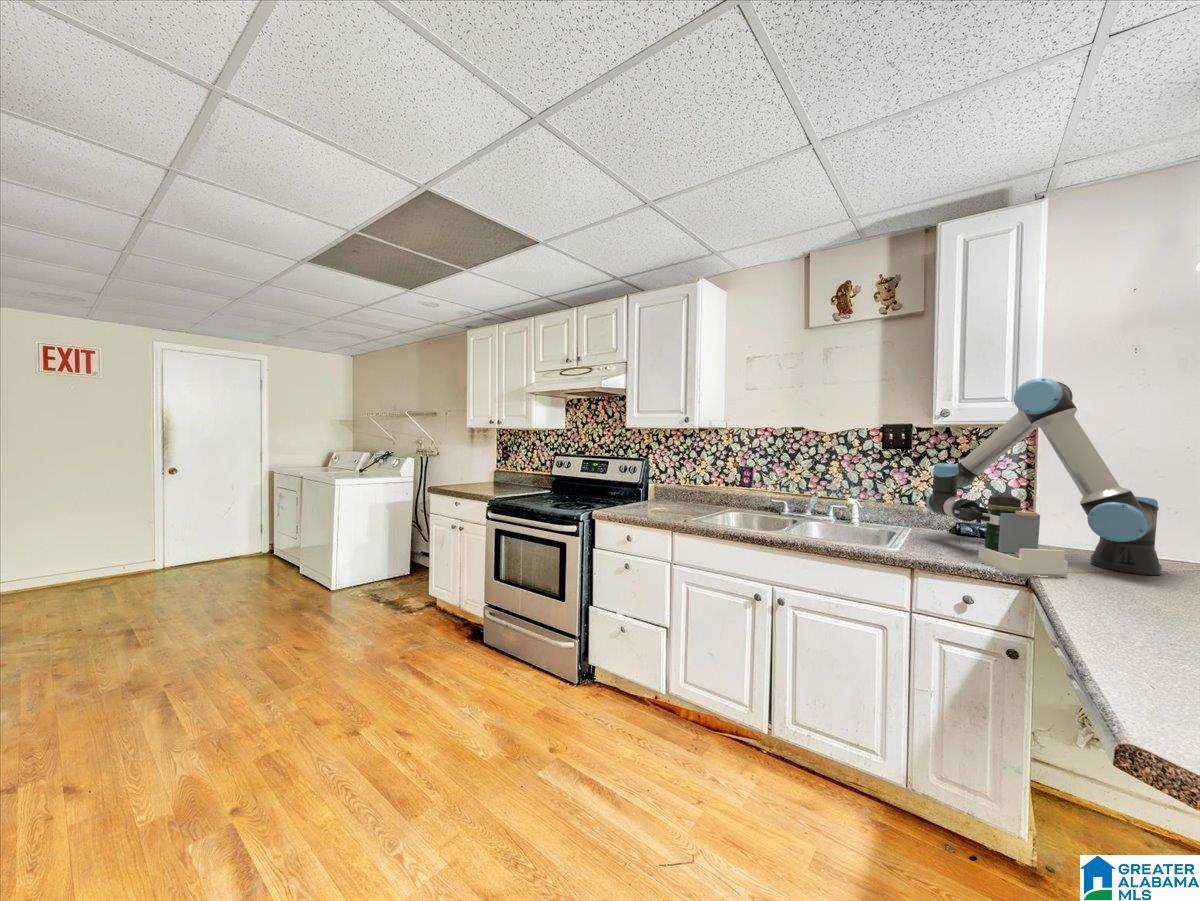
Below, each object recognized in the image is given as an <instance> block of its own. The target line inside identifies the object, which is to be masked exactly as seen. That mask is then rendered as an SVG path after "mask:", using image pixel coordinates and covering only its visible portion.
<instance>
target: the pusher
mask: <svg viewBox="0 0 1200 901" xmlns="http://www.w3.org/2000/svg"><path fill="white" fill-rule="evenodd" d="M1040 520H1041V514H1039V513H1038V512H1035V511H1028V510H1020V511H1015V514H1014V513H1001V515H1000V530H999V545H998V552H1008V553H1007V554H1009V553H1015V554H1019V551H1020V549H1039V538H1040V537H1039V536H1040V523H1041V521H1040Z"/></svg>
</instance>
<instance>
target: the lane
mask: <svg viewBox="0 0 1200 901" xmlns="http://www.w3.org/2000/svg"><path fill="white" fill-rule="evenodd" d="M1065 557H1066V550H1063V549H1044V548H1038V549H1020V551H1019V553H1018V555H1014V554H1007V553H1006V554H1003V553H1000V552H997V551H994V550H991V549H988V548H985V546H984V547H983V546H978V556H977V562H978V563H980V562H981V563H980V564H982V563H984V564H983V565H985V564H987V565H986V566H988V565H990V566H992V567H991V568H993V567H995V568H994V569H996V568H997V569H996V570H999V571H1001V572H1004V573H1007V574H1010V575H1012V576H1015V577H1020V578H1021V577H1022V578H1023V577H1024V578H1025V577H1028V578H1033V577H1032V576H1033V575H1040V576H1048V577H1065V578H1064V579H1067V578H1068V569H1069V568H1068V565H1069V561H1068V560H1066V558H1065ZM990 566H989V567H990ZM1048 577H1047V578H1048Z"/></svg>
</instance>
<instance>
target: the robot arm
mask: <svg viewBox="0 0 1200 901" xmlns="http://www.w3.org/2000/svg"><path fill="white" fill-rule="evenodd" d="M1073 397H1074V396H1073V392H1072V390H1071V388H1070V387H1069V386H1068V385H1066V384H1065V383H1063V382H1062V381H1061V382H1060V381H1056V380H1054V379H1052V378H1047V377H1040V378H1037V377H1036V378H1033V379H1029V380H1027V381H1025V382H1023V383H1022V384H1021V385H1019V386H1018V387H1017V389H1016V390H1015V391H1014V395H1013V402H1014V405H1015V406H1016V408H1017V412H1015V413H1016V414H1014V415H1012V417H1011V418H1009V420H1007V421H1006V422H1005V423H1004V424H1003V425H1001V426H1000V427H999V428H998V429H997V430H996V431H994V432H993V433H991V435H990V436H988V437H987V438H986V439H985V440H984V441H983V442H981V443H980V444H979V445H978V446H977V447H976V448H975V449H974V450H972V451H971V452H970V453H969V454H967V456H966V457H964V458H963V459H961V460H960V462H959V463H957V464H956V463H945V462H944V463H943V462H937V463H935V464H934V466H933V467H934V468H933V471H932V474H933V478H932V492H931V493H930V494H928V496H927V497H926V499H925V506H926V508H927V509H928V510H929V511H930V512H932V513H935V514H937V515H943V516H946V517H950V518H953V519H954V520H956V521H957V520H960V521H965V522H973V521H975V520H976V523H977V524H981V523H982V522H983V523H986V524H987V523H991V524H995V525H1000V516H995V515H991V514H988V507H987V508H986V507H984V506H980V505H979V503H978V502H976V501H974V500H972V499H966V498H962V497H957V494H958V488H965V487H968V486H970V485H972V484H973V483H974V482H975V479H976V478H977V477H978V476H979V475H980V474H982V473H984V471H986V469H988V468H989V467H990V466H991V465H993V464H994V463H995V462H997V461H998V460H999V459H1000V458H1001V457H1002V456H1004V455H1005V454H1006V453H1008V452H1009V451H1010V450H1011V449H1013V447H1015V446H1016V445H1017V444H1018V443H1020V442H1021V441H1022V440H1024V439H1025V438H1026V437H1027V436H1029V435H1030V434H1031V433H1032V432H1033V431H1035V429H1037V428H1040V429H1041V431H1042V433H1043V434H1044V436H1045V438H1046V439H1047V441H1048V442H1049V444H1050V445H1051V447H1052V449H1053V451H1054V452H1055V454H1056V455H1057V457H1058V459H1059V460H1060V462H1061V463H1062V465H1063V467H1064V468H1065V470H1066V472H1067V473H1068V475H1069V476H1070V478H1071V480H1072V482H1074V484H1075V486H1076V488H1077V490H1078V491H1079V493H1080V494H1081V496H1082V498H1081V499H1080V502H1079V504H1080V506H1081V508H1082V509H1083V511H1084V513H1085V514H1086V516H1087V518H1086V519H1087V523H1088V526H1089V528H1090V529H1091V531H1092V532H1093V533H1094V534H1095V535H1097V536H1099V541H1098V543H1097V544H1096V546H1095V548H1094V552H1093V553H1092V554H1091V555H1090V559H1089V563H1090V564H1091V565H1093V566H1096V567H1099V568H1103V569H1107V570H1111V571H1116V572H1120V573H1126V574H1134V575H1145V576H1160V575H1162V569H1163V567H1162V565H1161V564H1160V561H1159V557H1158V554H1157V551H1156V548H1155V546H1156V535H1157V523H1158V522H1157V521H1158V511H1159V510H1160V509H1159V508H1160V507H1159V502H1158V500H1157V499H1155V498H1152V497H1145V496H1140V495H1139V496H1138V495H1135V494H1134V493H1133V492H1132V490H1131V489H1128V488H1125V487H1122V486H1120V483H1119V482H1118V481H1117V480H1116V478H1115V477H1114V475H1113V474H1112V472H1111V471H1110V469H1109V467H1108V465H1107V464H1106V463H1105V461H1104V459H1103V458H1102V456H1101V455H1100V453H1099V452H1098V451H1097V450H1098V449H1097V448H1096V447H1095V446H1094V444H1093V442H1092V441H1091V439H1090V438H1089V437H1088V435H1087V433H1086V432H1085V430H1084V429H1083V427H1082V426H1081V424H1080V423H1079V421H1078V420H1077V418H1076V415H1075V414H1076V413H1077V411H1078V408H1077V406H1076V405H1075V404H1074V401H1073Z"/></svg>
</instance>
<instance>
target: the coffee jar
mask: <svg viewBox="0 0 1200 901" xmlns="http://www.w3.org/2000/svg"><path fill="white" fill-rule="evenodd" d="M1021 502H1022V500H1021V499H1020V498H1018V497H1016V496H1015V495H1012V494H1010V493H1002V492H1001V493H1000V492H999V493H995V494H992V495H990V496H989V497H988V504H987V509H988V514H991V515H995V516H1000V515H1001V513H1014V514H1015V511H1021V507H1022V506H1021V505H1022V504H1021ZM985 529H986V530H985V536H984V537H985V541H984V547H985V548H988V549H991V550H994V551H997V552H998V545H999V530H1000V525H995V524H991V523H987V522H986V528H985ZM1000 553H1003V554H1006V555H1007V554H1008V555H1016V553H1008V552H1000Z"/></svg>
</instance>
